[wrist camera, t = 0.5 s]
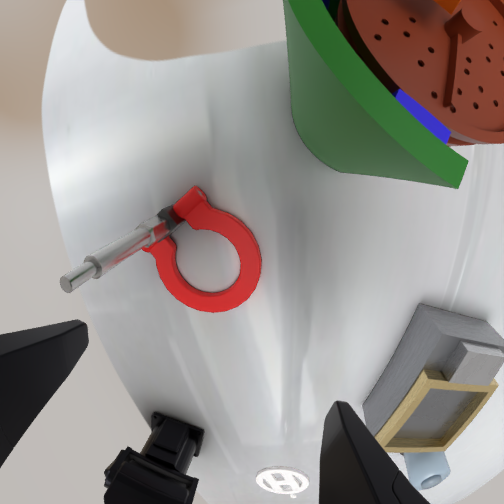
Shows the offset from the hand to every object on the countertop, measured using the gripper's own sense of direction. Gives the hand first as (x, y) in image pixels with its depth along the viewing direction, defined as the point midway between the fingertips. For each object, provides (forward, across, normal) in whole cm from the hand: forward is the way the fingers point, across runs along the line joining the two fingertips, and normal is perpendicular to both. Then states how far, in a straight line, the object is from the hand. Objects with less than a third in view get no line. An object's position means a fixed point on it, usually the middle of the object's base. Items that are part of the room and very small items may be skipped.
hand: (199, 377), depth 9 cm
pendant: (+15, -11, +31) cm, 36 cm away
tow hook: (+14, +4, +1) cm, 15 cm away
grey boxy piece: (+14, -18, +8) cm, 24 cm away
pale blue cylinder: (+14, -25, +18) cm, 33 cm away
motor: (+14, -4, -13) cm, 20 cm away
